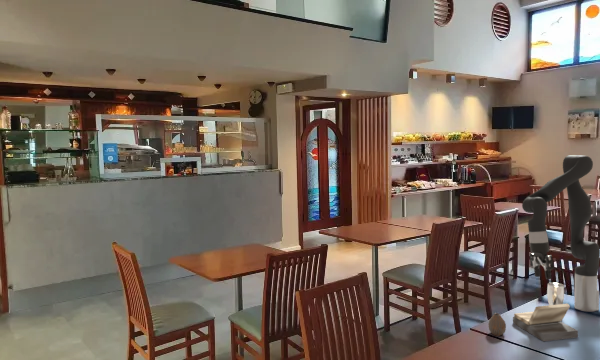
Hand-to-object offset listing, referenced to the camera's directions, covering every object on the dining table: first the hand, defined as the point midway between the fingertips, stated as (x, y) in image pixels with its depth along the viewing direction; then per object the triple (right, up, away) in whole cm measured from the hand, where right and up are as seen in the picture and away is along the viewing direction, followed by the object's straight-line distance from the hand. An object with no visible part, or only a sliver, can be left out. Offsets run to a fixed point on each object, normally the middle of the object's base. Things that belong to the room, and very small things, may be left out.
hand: (543, 277), depth 204 cm
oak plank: (-2, -14, -10) cm, 17 cm away
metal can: (+11, -20, +10) cm, 25 cm away
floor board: (-3, -22, -6) cm, 22 cm away
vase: (-24, -23, -8) cm, 34 cm away
